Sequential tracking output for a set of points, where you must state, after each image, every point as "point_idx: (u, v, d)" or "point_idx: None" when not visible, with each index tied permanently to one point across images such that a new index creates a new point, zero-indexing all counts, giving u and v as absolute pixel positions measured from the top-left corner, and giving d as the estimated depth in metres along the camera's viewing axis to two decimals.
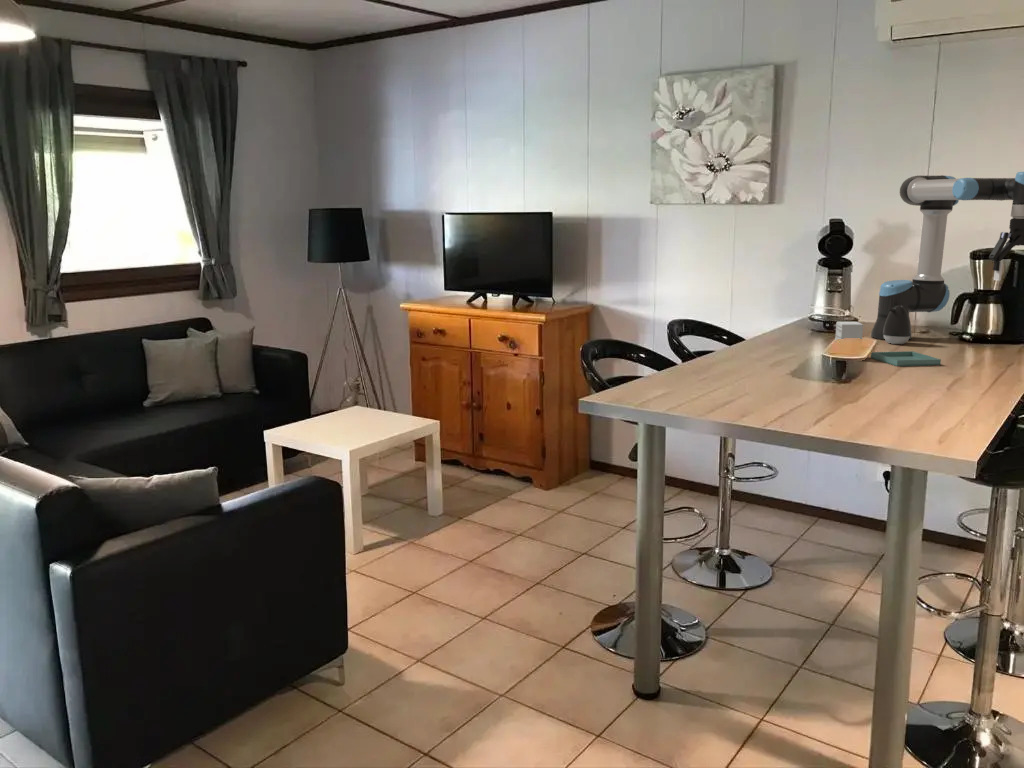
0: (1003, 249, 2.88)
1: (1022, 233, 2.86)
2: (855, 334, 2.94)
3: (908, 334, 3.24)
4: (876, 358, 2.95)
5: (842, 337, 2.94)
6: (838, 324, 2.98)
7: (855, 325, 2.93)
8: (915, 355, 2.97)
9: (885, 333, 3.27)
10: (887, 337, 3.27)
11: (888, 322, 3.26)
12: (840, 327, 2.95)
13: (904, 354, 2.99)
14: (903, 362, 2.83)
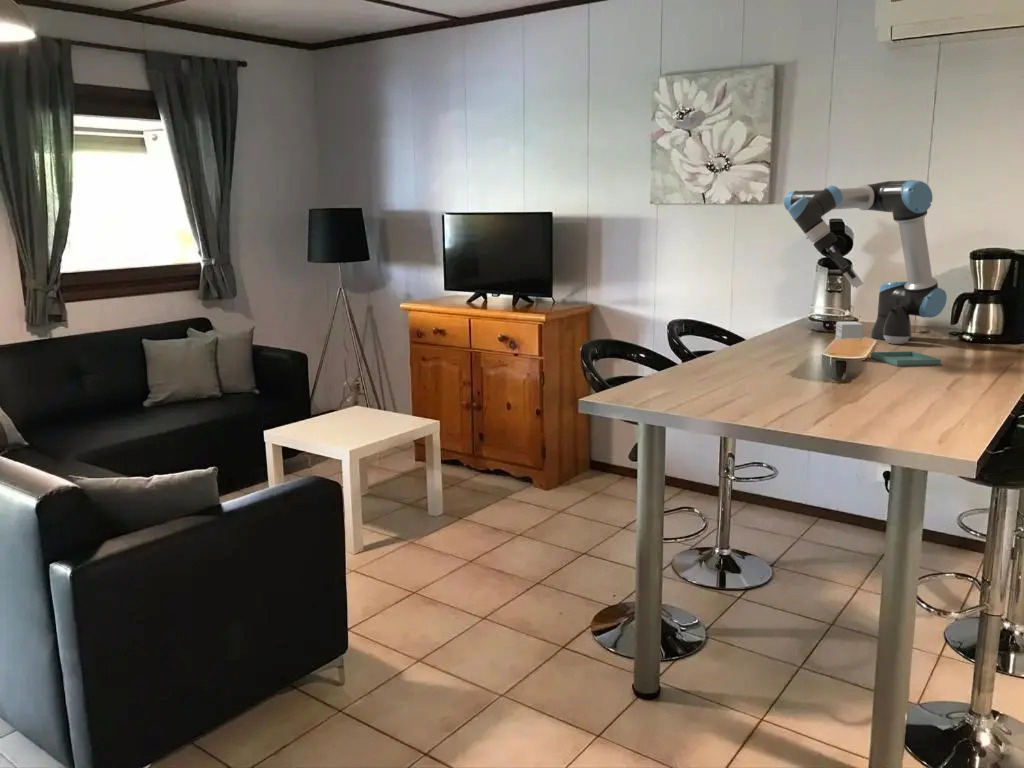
0: None
1: (827, 250, 2.95)
2: (855, 334, 2.94)
3: (908, 334, 3.24)
4: (876, 358, 2.95)
5: (842, 337, 2.94)
6: (838, 324, 2.98)
7: (855, 325, 2.93)
8: (915, 355, 2.97)
9: (885, 333, 3.27)
10: (887, 337, 3.27)
11: (888, 322, 3.26)
12: (840, 327, 2.95)
13: (904, 354, 2.99)
14: (903, 362, 2.83)
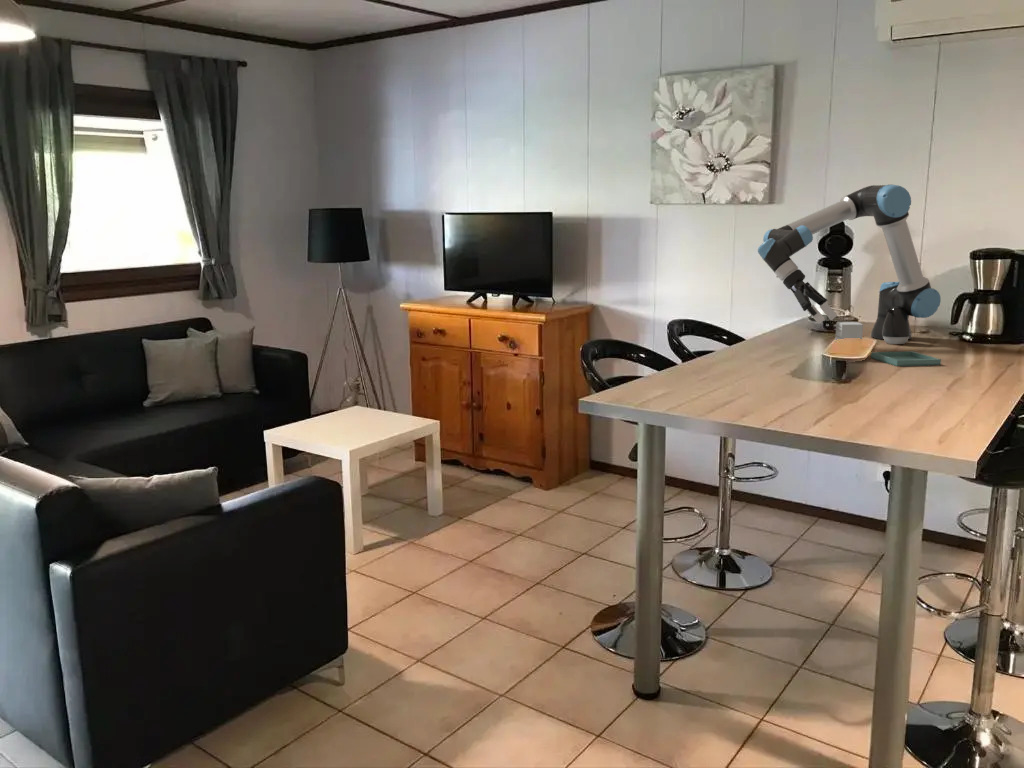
0: None
1: None
2: (855, 334, 2.94)
3: (907, 334, 3.24)
4: (876, 358, 2.95)
5: (842, 337, 2.94)
6: (838, 324, 2.98)
7: (855, 325, 2.93)
8: (915, 355, 2.97)
9: (884, 334, 3.27)
10: (886, 338, 3.27)
11: (887, 323, 3.26)
12: (840, 327, 2.95)
13: (904, 354, 2.99)
14: (903, 362, 2.83)
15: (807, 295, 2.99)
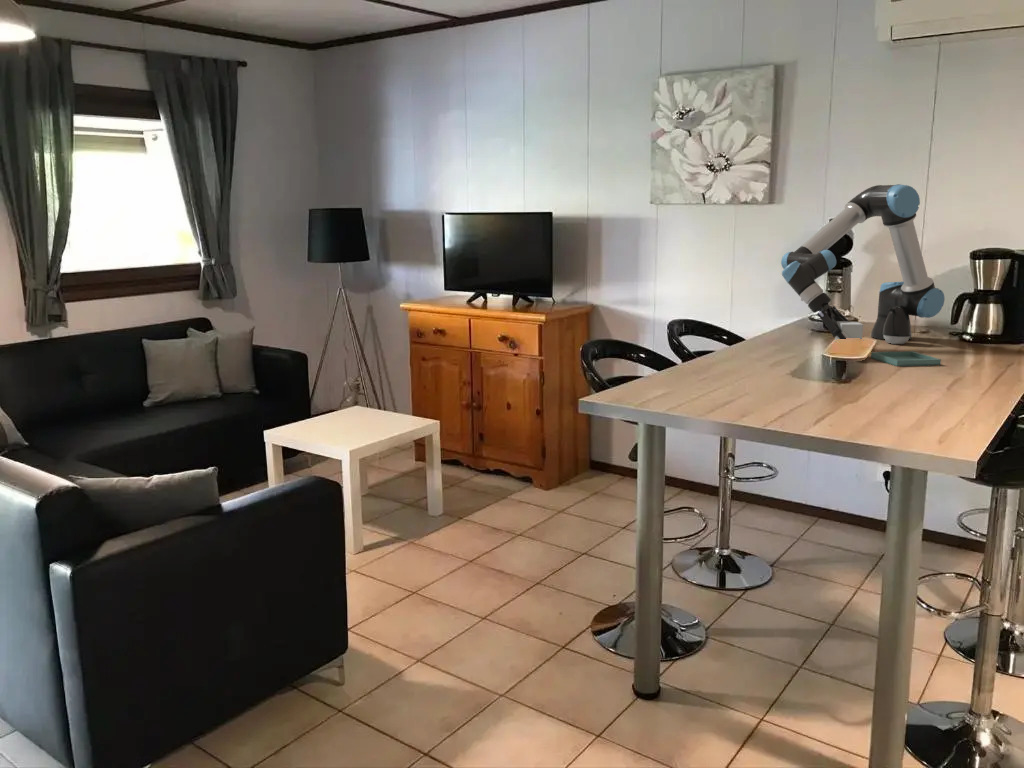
0: None
1: None
2: (855, 334, 2.94)
3: (908, 334, 3.24)
4: (876, 358, 2.95)
5: None
6: (838, 324, 2.98)
7: (855, 325, 2.93)
8: (915, 355, 2.97)
9: (885, 333, 3.27)
10: (887, 337, 3.27)
11: (888, 322, 3.26)
12: (840, 327, 2.95)
13: (904, 354, 2.99)
14: (903, 362, 2.83)
15: (835, 320, 2.96)
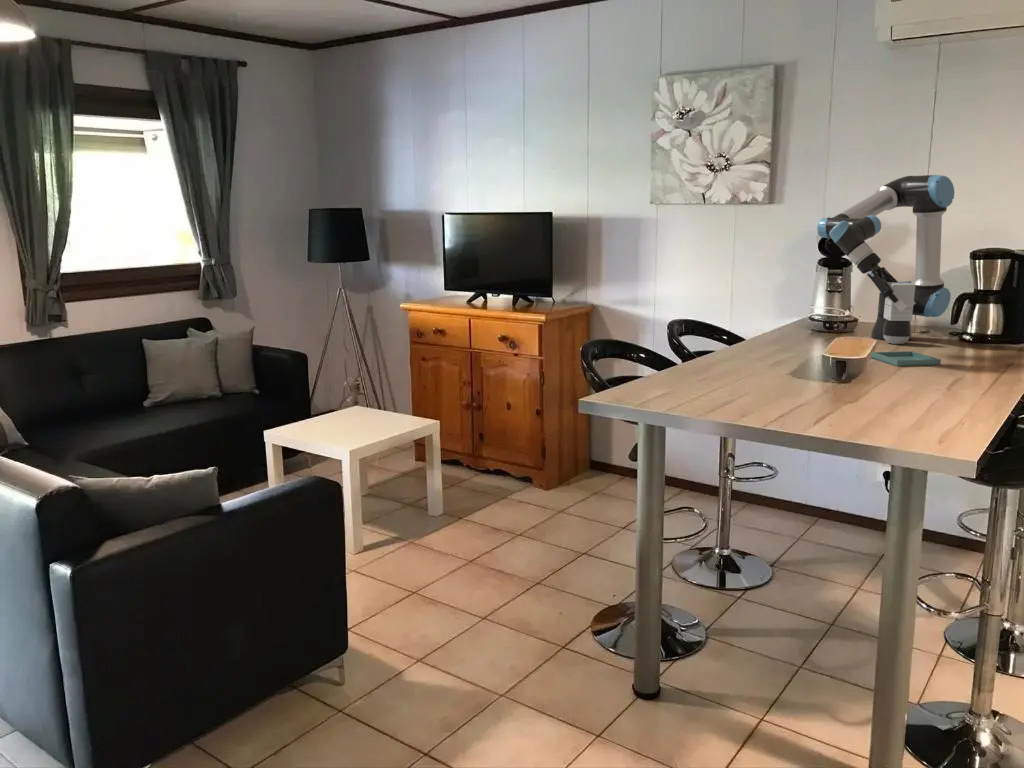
0: None
1: None
2: (906, 295, 2.84)
3: (908, 334, 3.24)
4: (876, 358, 2.95)
5: None
6: (889, 285, 2.88)
7: (907, 285, 2.83)
8: (915, 355, 2.97)
9: (885, 333, 3.27)
10: (887, 337, 3.27)
11: (888, 322, 3.26)
12: (891, 287, 2.85)
13: (904, 354, 2.99)
14: (903, 362, 2.83)
15: (885, 280, 2.87)
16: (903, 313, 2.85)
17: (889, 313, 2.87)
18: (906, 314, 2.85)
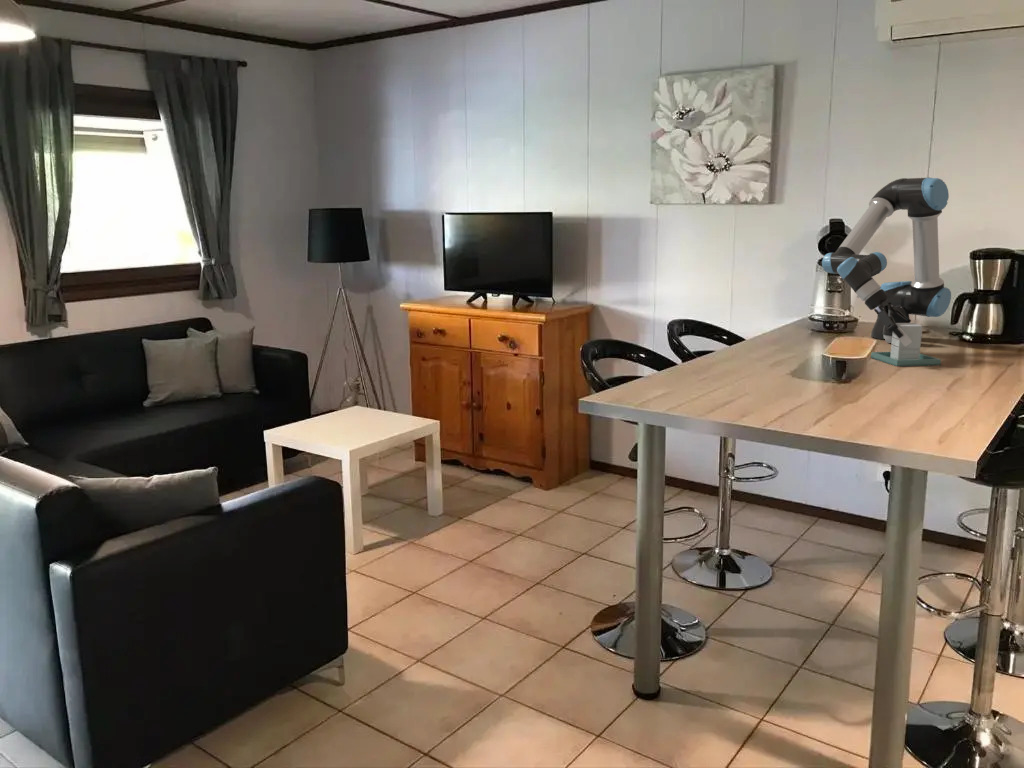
0: None
1: None
2: (913, 336, 2.86)
3: None
4: (876, 358, 2.95)
5: None
6: None
7: (914, 327, 2.85)
8: None
9: (885, 333, 3.27)
10: (887, 337, 3.27)
11: None
12: None
13: None
14: (903, 362, 2.83)
15: (892, 316, 2.88)
16: (910, 354, 2.87)
17: (896, 354, 2.89)
18: (913, 355, 2.87)
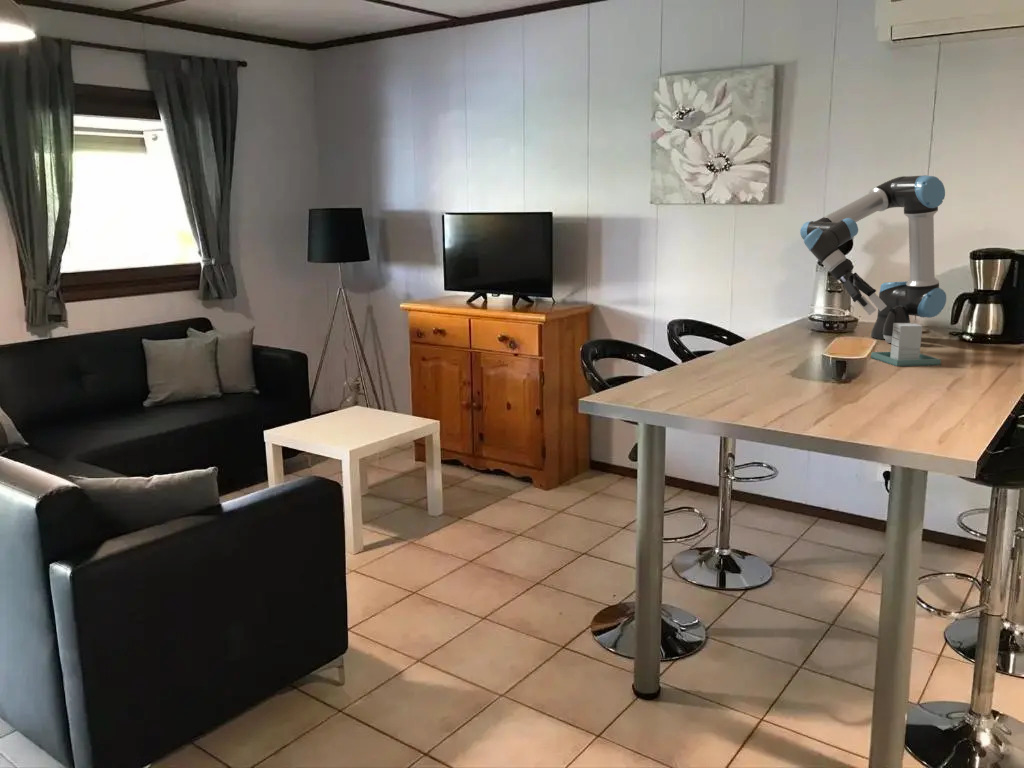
0: None
1: None
2: (913, 336, 2.86)
3: None
4: (876, 358, 2.95)
5: (900, 339, 2.86)
6: (896, 325, 2.90)
7: (914, 327, 2.85)
8: None
9: (885, 333, 3.27)
10: (887, 337, 3.27)
11: (888, 322, 3.26)
12: (898, 329, 2.87)
13: None
14: (903, 362, 2.83)
15: (857, 286, 2.93)
16: (910, 354, 2.87)
17: (896, 354, 2.89)
18: (913, 355, 2.87)
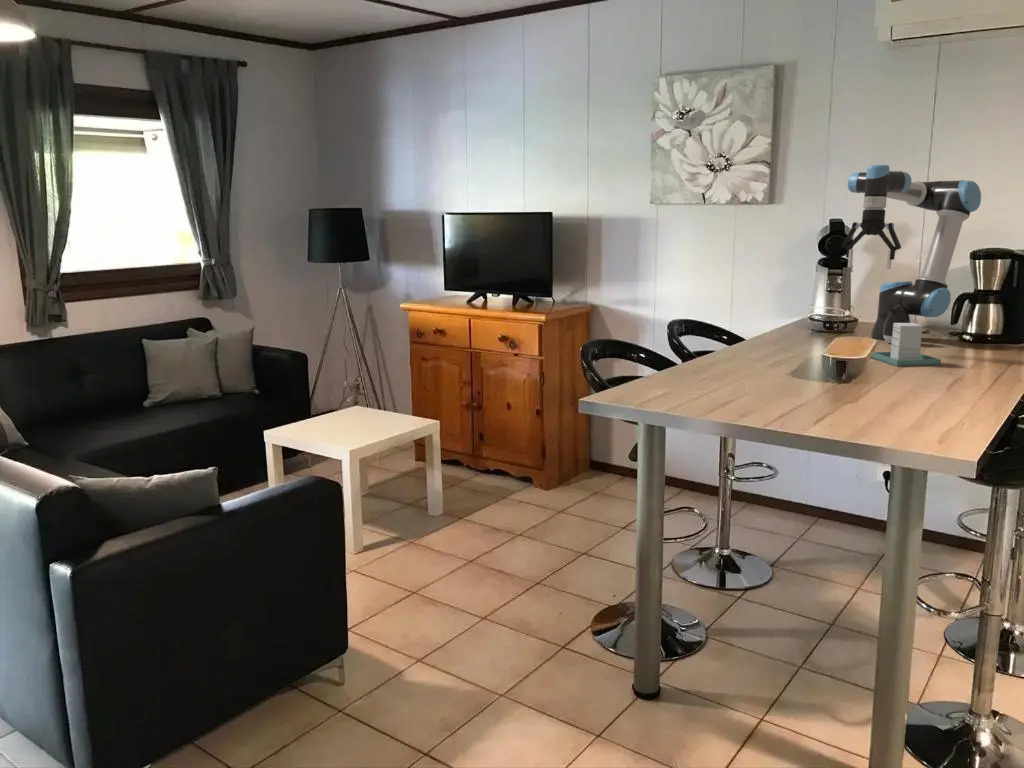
0: None
1: (871, 223, 3.03)
2: (913, 336, 2.86)
3: None
4: (876, 358, 2.95)
5: (900, 339, 2.86)
6: (895, 325, 2.90)
7: (914, 327, 2.85)
8: None
9: (885, 333, 3.27)
10: (887, 337, 3.27)
11: (888, 322, 3.26)
12: (898, 329, 2.87)
13: None
14: (903, 362, 2.83)
15: None
16: (910, 354, 2.87)
17: (896, 354, 2.89)
18: (913, 355, 2.87)
